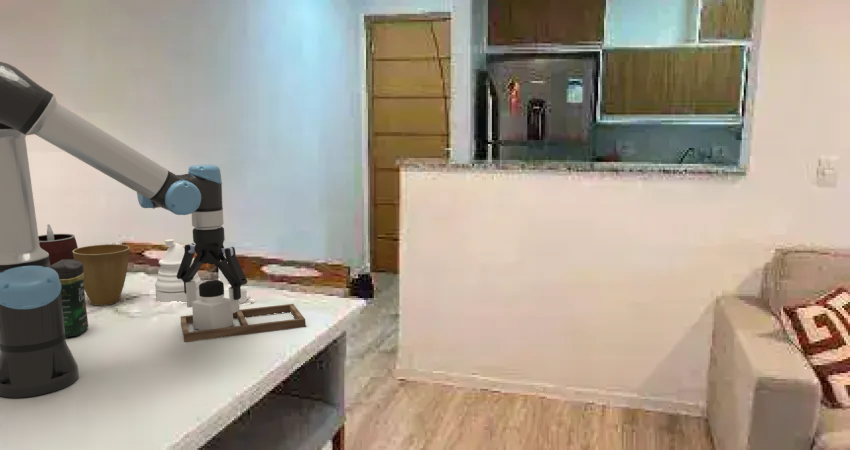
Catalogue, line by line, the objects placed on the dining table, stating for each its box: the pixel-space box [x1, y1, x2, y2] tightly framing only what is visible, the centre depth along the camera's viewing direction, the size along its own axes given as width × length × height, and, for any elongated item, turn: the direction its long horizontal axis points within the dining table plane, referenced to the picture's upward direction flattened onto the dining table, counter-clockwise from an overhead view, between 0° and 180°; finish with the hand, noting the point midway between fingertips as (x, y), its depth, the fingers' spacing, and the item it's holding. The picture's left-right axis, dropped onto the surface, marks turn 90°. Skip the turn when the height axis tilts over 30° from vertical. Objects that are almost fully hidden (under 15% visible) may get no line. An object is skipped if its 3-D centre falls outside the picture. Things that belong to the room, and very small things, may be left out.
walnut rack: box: [179, 303, 306, 343], centre depth 174 cm, size 15×30×2 cm, turn 112°
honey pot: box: [154, 238, 202, 302], centre depth 198 cm, size 13×13×18 cm
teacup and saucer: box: [239, 288, 256, 307], centre depth 195 cm, size 9×8×4 cm
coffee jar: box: [50, 259, 89, 339], centre depth 167 cm, size 10×8×19 cm
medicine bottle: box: [191, 279, 234, 330], centre depth 170 cm, size 7×7×12 cm
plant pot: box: [73, 243, 130, 306], centre depth 195 cm, size 15×15×16 cm
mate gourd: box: [38, 223, 79, 266], centre depth 207 cm, size 16×14×20 cm
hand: (213, 309), depth 171 cm, fingers open, 13 cm apart
